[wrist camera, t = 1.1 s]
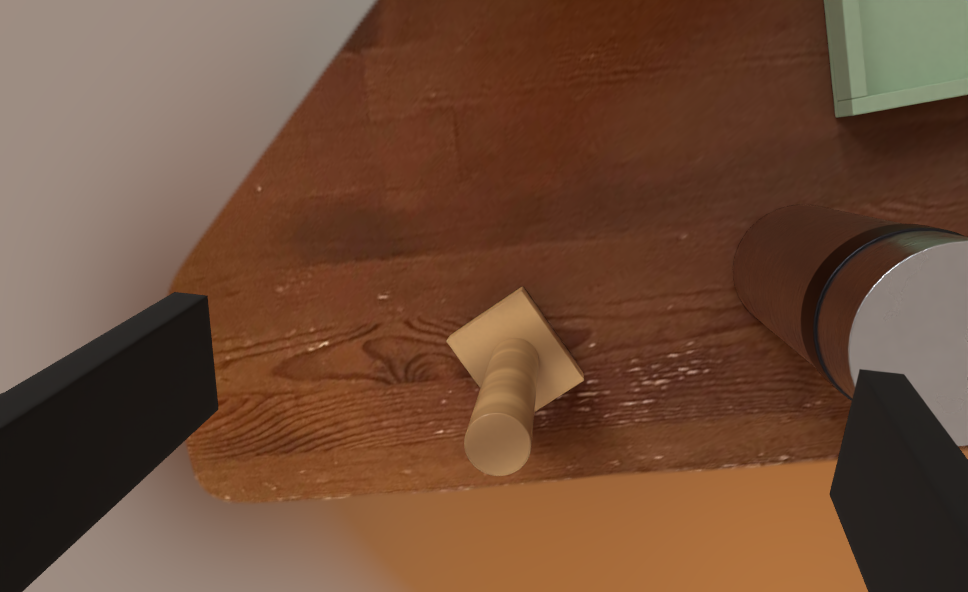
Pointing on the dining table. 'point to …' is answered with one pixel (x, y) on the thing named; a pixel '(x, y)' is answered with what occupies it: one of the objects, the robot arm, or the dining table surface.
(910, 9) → the tray
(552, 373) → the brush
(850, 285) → the bottle
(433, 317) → the dining table surface
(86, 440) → the robot arm
